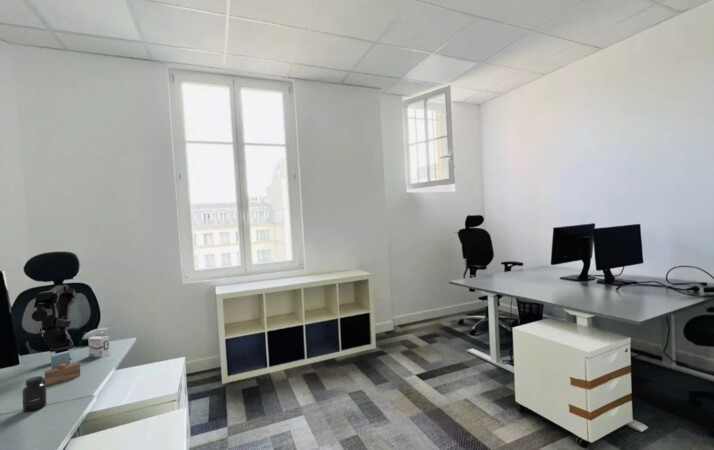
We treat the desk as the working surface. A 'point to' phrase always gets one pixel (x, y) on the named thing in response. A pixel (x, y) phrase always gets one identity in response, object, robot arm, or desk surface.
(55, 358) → the blue white block
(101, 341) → the ink box
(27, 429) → the desk surface
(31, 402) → the supplement bottle
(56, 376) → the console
